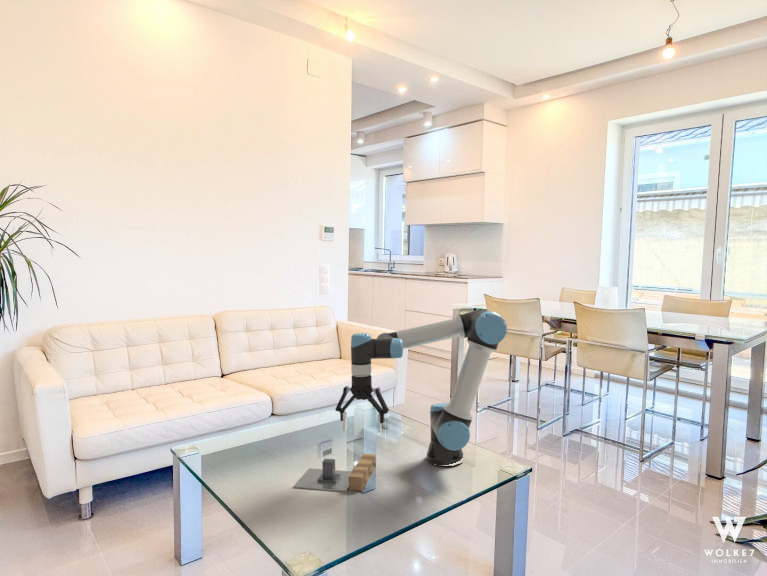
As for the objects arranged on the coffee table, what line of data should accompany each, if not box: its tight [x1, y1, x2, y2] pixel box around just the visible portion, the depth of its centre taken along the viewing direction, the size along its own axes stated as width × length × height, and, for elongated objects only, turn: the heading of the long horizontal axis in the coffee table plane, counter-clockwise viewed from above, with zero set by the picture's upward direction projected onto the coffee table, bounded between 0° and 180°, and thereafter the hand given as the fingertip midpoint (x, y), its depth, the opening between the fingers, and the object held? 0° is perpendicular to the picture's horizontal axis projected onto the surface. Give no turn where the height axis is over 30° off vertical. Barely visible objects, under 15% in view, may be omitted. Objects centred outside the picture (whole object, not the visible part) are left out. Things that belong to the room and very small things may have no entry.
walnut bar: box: [349, 453, 377, 492], centre depth 183 cm, size 22×5×5 cm, turn 168°
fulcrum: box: [292, 458, 353, 493], centre depth 180 cm, size 20×16×8 cm
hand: (362, 430), depth 182 cm, fingers open, 13 cm apart
